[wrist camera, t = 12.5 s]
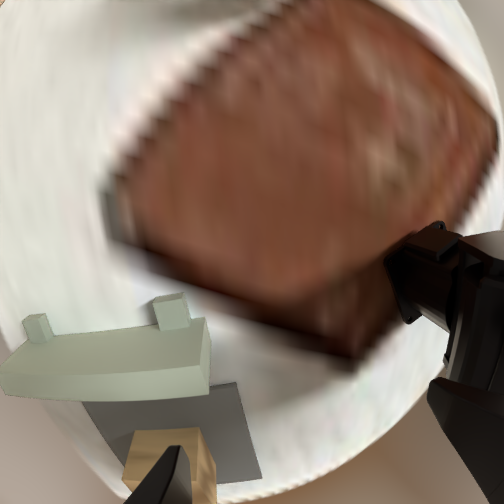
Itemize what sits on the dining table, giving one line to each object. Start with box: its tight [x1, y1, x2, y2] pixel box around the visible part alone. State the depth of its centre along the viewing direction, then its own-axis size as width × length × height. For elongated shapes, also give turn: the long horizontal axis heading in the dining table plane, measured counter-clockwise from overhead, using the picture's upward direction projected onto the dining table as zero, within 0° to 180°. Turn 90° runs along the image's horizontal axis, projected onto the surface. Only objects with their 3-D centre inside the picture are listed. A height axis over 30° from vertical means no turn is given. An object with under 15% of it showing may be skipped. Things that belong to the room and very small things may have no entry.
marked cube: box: [121, 427, 217, 504], centre depth 19 cm, size 6×6×6 cm
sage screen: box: [0, 292, 211, 401], centre depth 16 cm, size 6×16×6 cm, turn 100°
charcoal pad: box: [82, 383, 262, 484], centre depth 22 cm, size 14×14×1 cm
